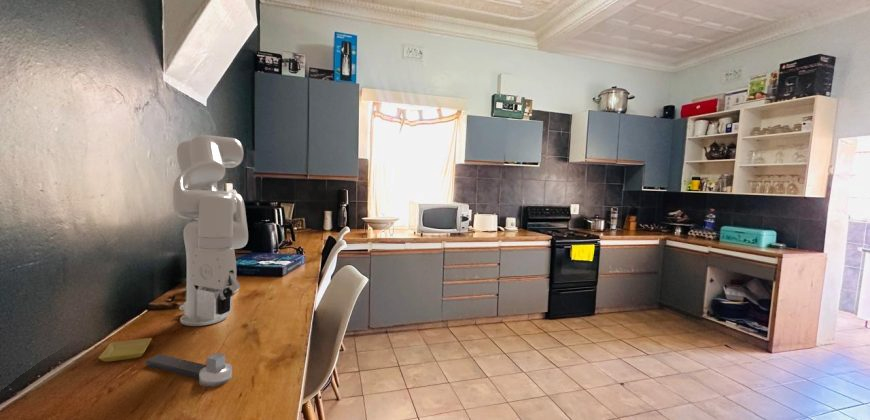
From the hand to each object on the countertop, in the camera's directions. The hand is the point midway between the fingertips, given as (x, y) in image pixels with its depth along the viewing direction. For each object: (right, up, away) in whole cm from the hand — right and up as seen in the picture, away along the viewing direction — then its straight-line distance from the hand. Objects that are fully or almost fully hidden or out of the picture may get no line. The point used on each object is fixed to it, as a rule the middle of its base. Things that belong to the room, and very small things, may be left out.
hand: (214, 309), depth 93 cm
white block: (0, -1, 0) cm, 1 cm away
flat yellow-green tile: (-21, -11, -2) cm, 24 cm away
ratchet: (-1, -12, -9) cm, 15 cm away
